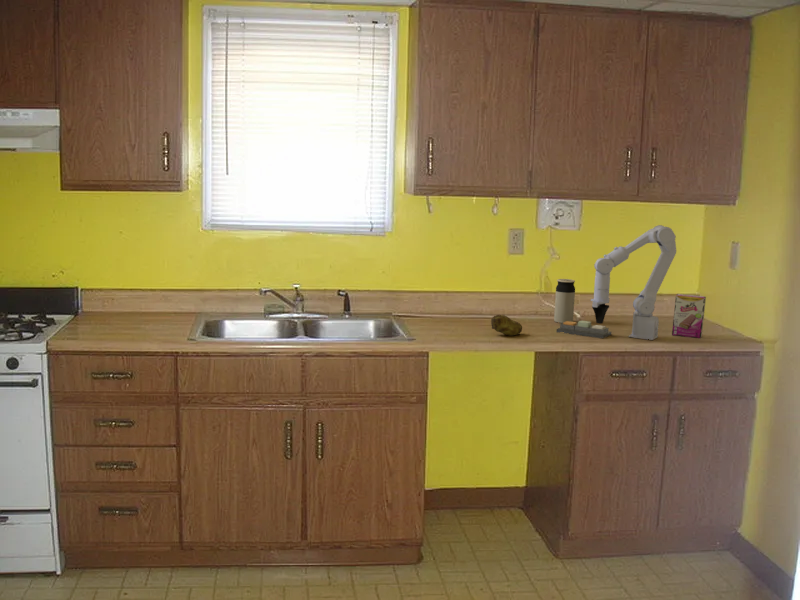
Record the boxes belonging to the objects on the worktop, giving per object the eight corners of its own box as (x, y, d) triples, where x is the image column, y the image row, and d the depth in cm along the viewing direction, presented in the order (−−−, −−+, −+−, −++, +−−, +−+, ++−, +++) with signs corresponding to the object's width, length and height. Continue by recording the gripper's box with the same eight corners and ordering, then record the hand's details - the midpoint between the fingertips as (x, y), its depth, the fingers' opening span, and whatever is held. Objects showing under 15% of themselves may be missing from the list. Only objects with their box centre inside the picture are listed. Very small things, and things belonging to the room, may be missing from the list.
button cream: (605, 331, 324) (605, 326, 324) (602, 332, 320) (602, 327, 320) (595, 329, 326) (595, 324, 326) (592, 331, 323) (592, 326, 322)
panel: (611, 334, 326) (611, 327, 325) (603, 338, 317) (603, 330, 317) (565, 328, 336) (566, 321, 335) (556, 332, 327) (556, 324, 327)
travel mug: (562, 324, 344) (565, 281, 342) (550, 321, 351) (552, 279, 348) (576, 323, 348) (579, 280, 346) (564, 319, 355) (566, 278, 352)
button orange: (576, 327, 330) (576, 322, 330) (572, 328, 327) (572, 323, 326) (566, 325, 332) (567, 321, 332) (563, 327, 329) (563, 322, 329)
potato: (525, 337, 315) (526, 316, 314) (492, 336, 314) (493, 316, 312) (520, 333, 323) (521, 313, 322) (488, 332, 322) (489, 312, 321)
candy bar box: (671, 335, 328) (675, 294, 325) (673, 333, 332) (676, 293, 330) (701, 338, 323) (705, 297, 321) (702, 336, 328) (706, 295, 325)
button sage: (590, 326, 327) (591, 321, 326) (587, 328, 323) (587, 323, 323) (581, 325, 329) (581, 320, 329) (577, 326, 326) (577, 321, 325)
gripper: (598, 285, 329) (595, 319, 331) (585, 290, 317) (583, 324, 319) (615, 287, 325) (613, 321, 327) (603, 291, 313) (601, 326, 315)
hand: (599, 323), depth 323 cm, fingers closed
